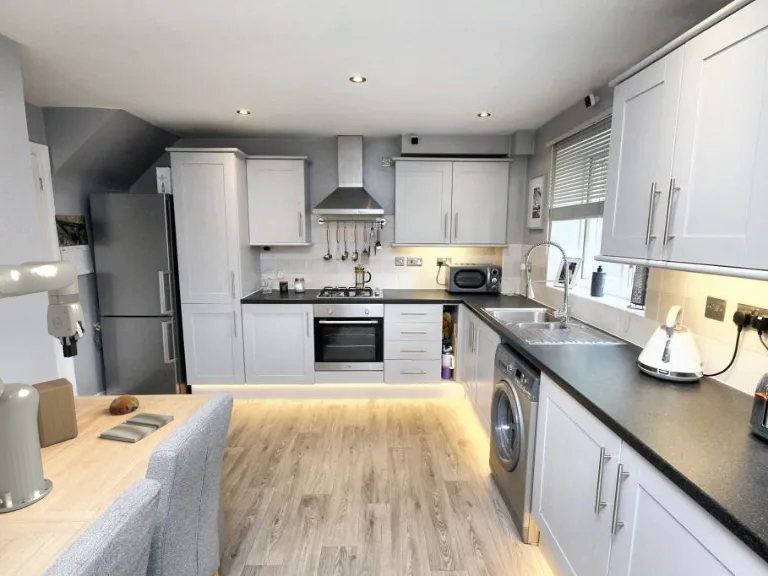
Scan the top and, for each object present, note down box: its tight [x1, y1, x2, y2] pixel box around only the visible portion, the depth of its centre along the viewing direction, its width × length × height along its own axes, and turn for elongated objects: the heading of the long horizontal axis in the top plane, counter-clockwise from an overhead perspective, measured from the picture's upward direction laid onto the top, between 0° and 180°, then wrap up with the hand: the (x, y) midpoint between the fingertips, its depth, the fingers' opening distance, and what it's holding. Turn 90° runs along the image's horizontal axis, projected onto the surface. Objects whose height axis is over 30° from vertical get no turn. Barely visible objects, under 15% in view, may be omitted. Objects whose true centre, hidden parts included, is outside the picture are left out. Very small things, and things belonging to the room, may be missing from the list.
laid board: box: [125, 411, 175, 431], centre depth 145 cm, size 8×15×2 cm, turn 76°
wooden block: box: [31, 377, 79, 448], centre depth 132 cm, size 10×10×20 cm
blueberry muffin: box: [108, 394, 140, 416], centre depth 156 cm, size 10×10×8 cm
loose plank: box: [99, 421, 157, 443], centre depth 136 cm, size 9×15×1 cm, turn 76°
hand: (70, 356), depth 122 cm, fingers closed
